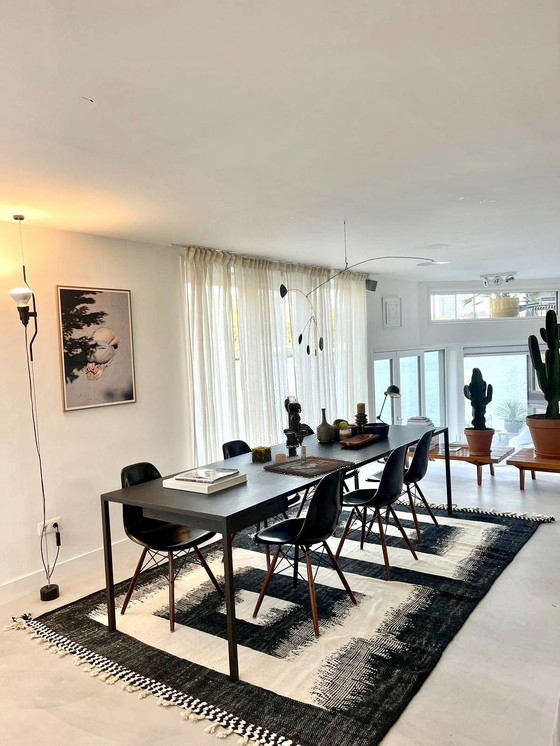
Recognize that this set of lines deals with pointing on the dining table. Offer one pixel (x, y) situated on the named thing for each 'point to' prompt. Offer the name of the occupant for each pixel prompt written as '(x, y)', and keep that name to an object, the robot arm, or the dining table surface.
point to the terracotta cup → (280, 458)
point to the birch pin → (303, 453)
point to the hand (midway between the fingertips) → (296, 445)
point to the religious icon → (309, 466)
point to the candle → (261, 454)
